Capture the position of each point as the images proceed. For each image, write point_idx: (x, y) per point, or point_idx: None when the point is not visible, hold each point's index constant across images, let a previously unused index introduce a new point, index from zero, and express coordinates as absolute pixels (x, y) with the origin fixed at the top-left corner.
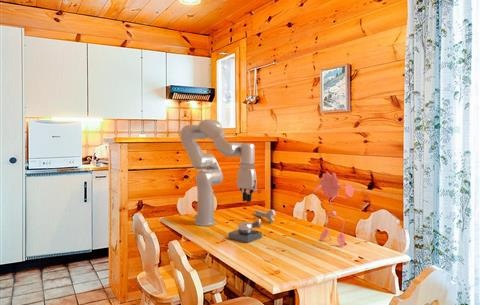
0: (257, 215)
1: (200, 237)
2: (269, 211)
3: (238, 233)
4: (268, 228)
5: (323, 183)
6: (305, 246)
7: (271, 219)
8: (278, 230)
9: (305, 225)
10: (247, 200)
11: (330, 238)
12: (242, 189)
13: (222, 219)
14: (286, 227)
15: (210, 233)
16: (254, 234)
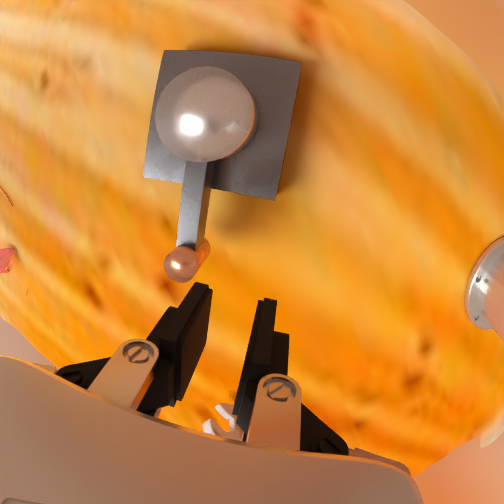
0: None
1: (430, 44)
2: None
3: (239, 74)
4: (208, 336)
5: None
6: (15, 168)
7: (231, 412)
8: (157, 321)
9: None
10: (194, 288)
11: (3, 270)
12: (276, 436)
13: (449, 371)
14: None
15: (431, 124)
16: (152, 108)
